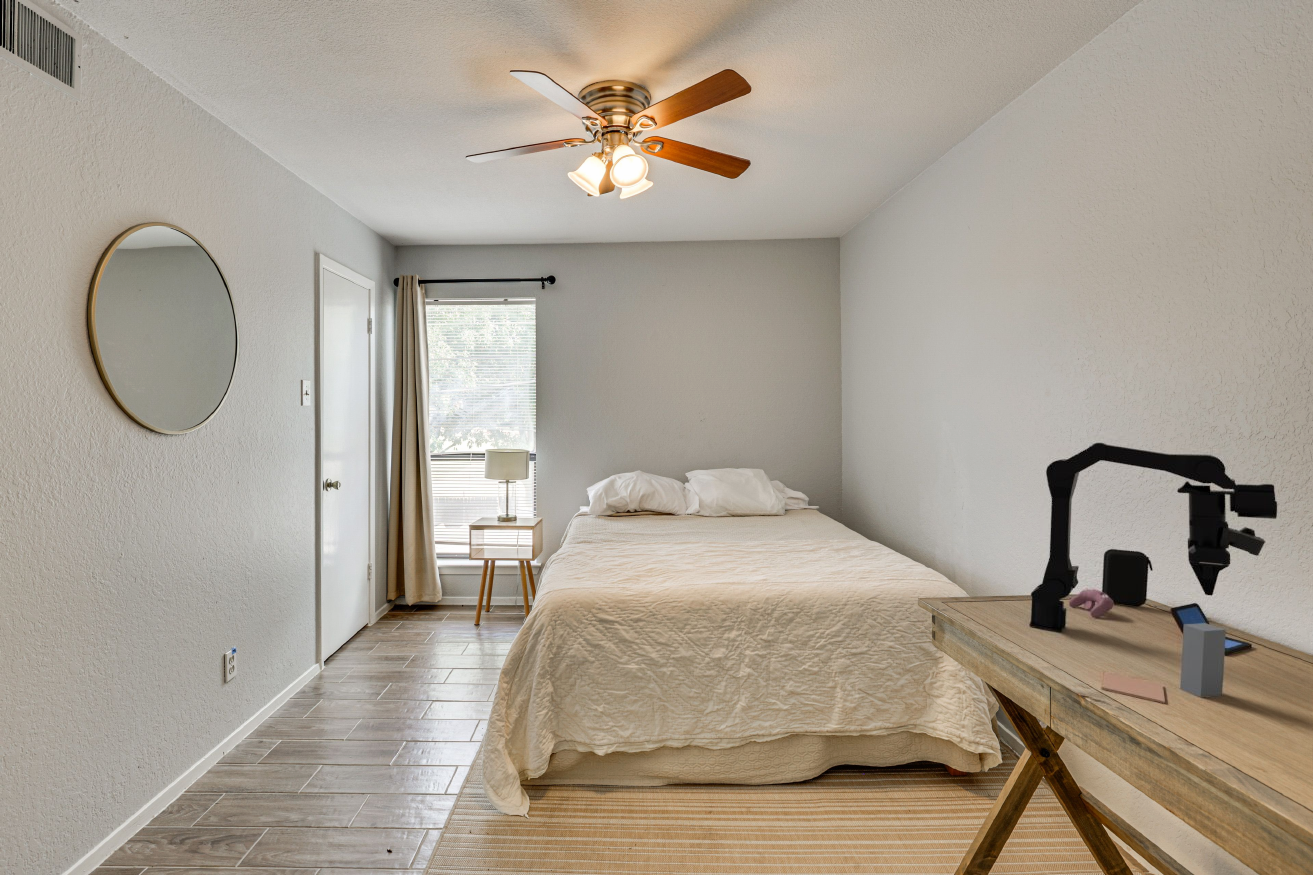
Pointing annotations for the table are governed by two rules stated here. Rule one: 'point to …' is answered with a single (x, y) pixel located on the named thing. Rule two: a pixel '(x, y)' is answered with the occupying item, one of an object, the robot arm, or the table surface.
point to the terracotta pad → (1133, 687)
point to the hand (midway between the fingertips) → (1208, 590)
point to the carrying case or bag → (1126, 576)
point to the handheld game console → (1196, 616)
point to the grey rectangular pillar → (1202, 659)
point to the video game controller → (1093, 602)
